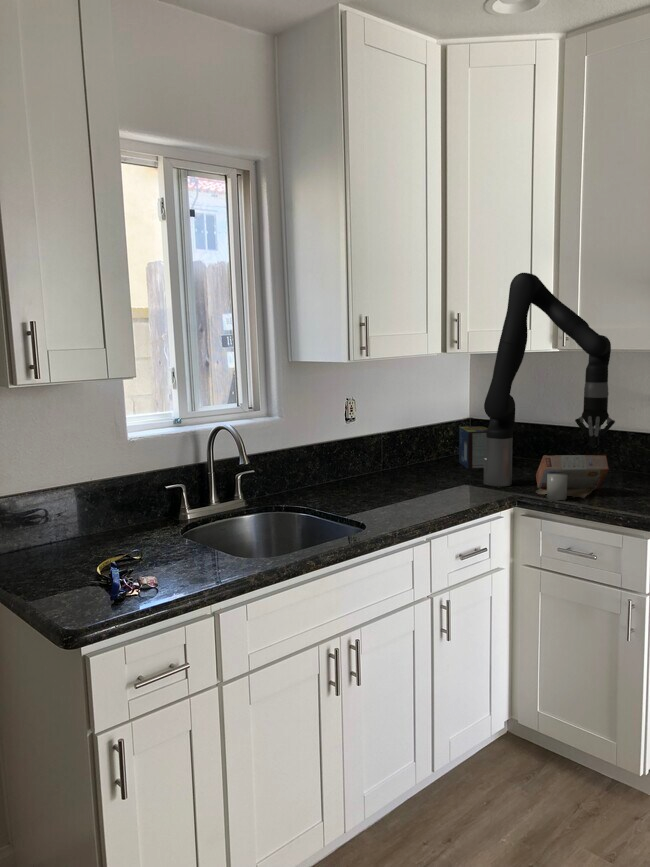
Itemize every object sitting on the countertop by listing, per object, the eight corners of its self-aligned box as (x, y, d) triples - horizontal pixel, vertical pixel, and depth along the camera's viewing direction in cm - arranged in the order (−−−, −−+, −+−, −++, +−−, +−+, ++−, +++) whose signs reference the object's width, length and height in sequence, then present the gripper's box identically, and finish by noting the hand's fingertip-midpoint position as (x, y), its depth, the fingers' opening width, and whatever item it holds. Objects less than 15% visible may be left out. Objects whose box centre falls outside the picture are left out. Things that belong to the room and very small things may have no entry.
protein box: (482, 462, 308) (483, 426, 305) (492, 468, 292) (493, 430, 290) (458, 462, 307) (458, 426, 305) (467, 469, 292) (467, 431, 290)
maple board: (535, 493, 245) (535, 491, 245) (549, 484, 260) (549, 481, 260) (584, 498, 236) (584, 496, 236) (596, 488, 252) (596, 486, 251)
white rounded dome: (544, 499, 236) (544, 475, 235) (549, 495, 242) (550, 472, 241) (564, 501, 233) (564, 477, 232) (569, 497, 238) (569, 473, 237)
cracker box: (606, 453, 239) (542, 454, 241) (610, 470, 236) (545, 470, 238) (595, 473, 251) (534, 473, 253) (598, 488, 248) (537, 489, 250)
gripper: (572, 395, 240) (570, 447, 242) (614, 397, 233) (612, 450, 235) (578, 394, 246) (576, 444, 248) (619, 395, 239) (616, 447, 241)
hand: (593, 447), depth 242 cm, fingers closed
